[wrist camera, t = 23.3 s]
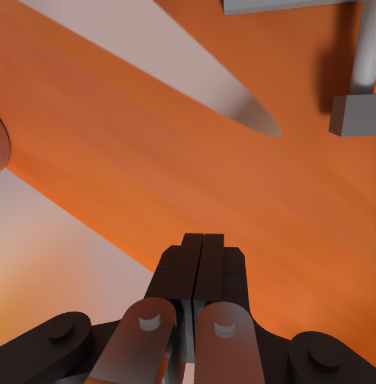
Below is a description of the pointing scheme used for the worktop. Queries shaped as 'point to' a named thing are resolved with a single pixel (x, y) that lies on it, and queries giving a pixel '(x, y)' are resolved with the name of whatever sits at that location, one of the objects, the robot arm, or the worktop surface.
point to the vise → (272, 5)
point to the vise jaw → (359, 83)
